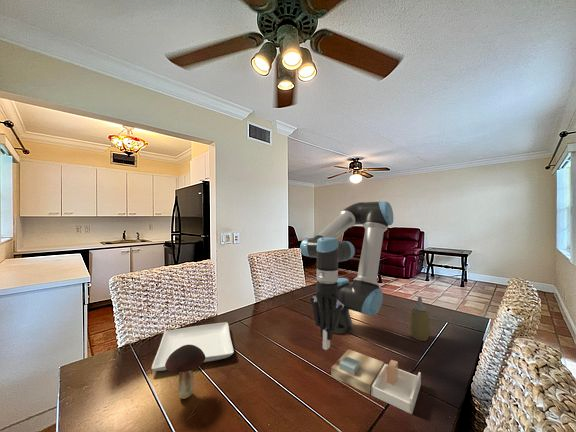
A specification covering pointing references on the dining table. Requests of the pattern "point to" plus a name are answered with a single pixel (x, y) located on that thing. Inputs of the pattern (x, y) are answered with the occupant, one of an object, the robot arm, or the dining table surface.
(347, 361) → the tile slate
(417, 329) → the squeeze bottle
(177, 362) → the decorative mushroom
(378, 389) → the tray
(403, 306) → the dining table surface
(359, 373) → the beige flat block
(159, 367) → the square plate
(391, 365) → the tile terracotta
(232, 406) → the dining table surface
